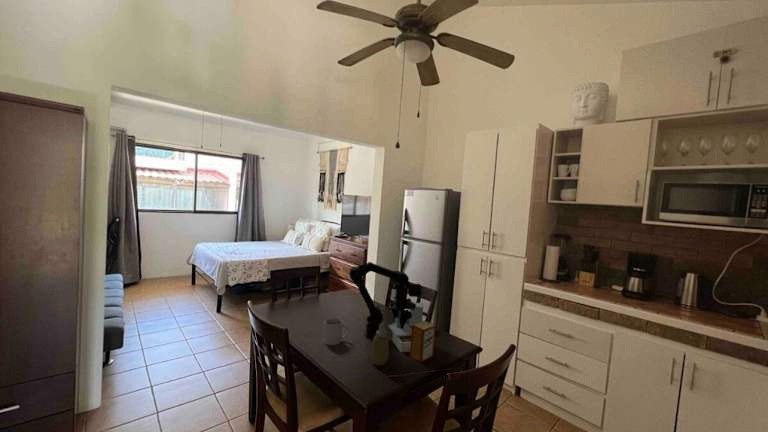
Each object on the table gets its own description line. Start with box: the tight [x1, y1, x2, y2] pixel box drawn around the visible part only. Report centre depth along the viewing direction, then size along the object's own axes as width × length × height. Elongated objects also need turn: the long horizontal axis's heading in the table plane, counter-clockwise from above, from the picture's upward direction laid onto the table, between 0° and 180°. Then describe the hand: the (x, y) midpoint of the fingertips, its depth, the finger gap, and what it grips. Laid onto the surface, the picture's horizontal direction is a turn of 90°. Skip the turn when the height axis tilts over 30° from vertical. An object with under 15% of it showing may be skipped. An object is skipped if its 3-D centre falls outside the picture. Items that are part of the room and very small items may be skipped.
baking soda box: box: [409, 320, 437, 363], centre depth 145 cm, size 10×6×16 cm
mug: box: [323, 318, 349, 346], centre depth 154 cm, size 11×10×10 cm
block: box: [401, 336, 411, 342], centre depth 157 cm, size 4×4×3 cm
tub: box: [392, 332, 411, 353], centre depth 155 cm, size 10×12×5 cm
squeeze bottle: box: [370, 322, 390, 367], centre depth 137 cm, size 8×8×18 cm
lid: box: [387, 317, 412, 337], centre depth 161 cm, size 10×14×5 cm
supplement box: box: [408, 301, 424, 328], centre depth 182 cm, size 7×7×13 cm
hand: (398, 324), depth 165 cm, fingers open, 9 cm apart
